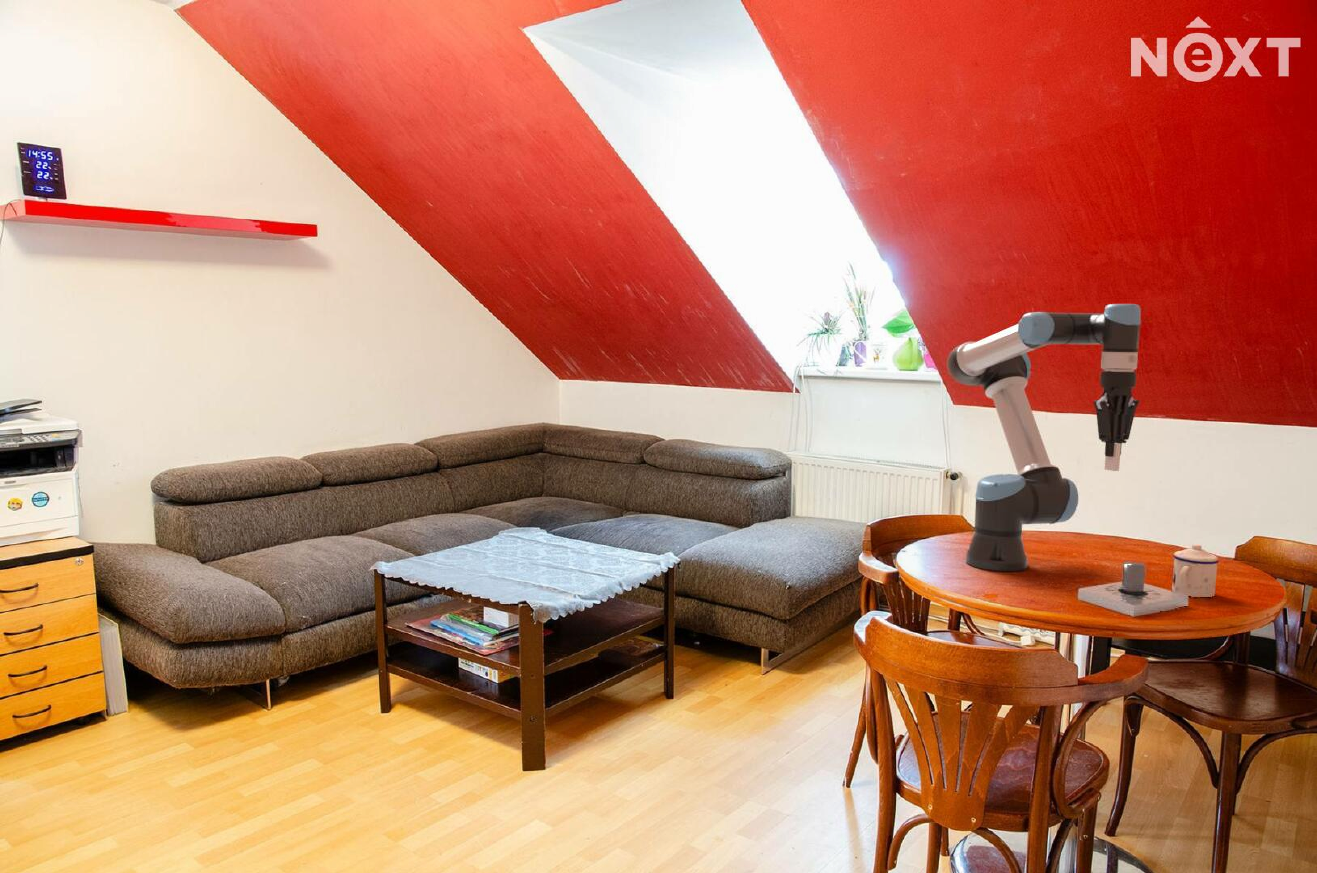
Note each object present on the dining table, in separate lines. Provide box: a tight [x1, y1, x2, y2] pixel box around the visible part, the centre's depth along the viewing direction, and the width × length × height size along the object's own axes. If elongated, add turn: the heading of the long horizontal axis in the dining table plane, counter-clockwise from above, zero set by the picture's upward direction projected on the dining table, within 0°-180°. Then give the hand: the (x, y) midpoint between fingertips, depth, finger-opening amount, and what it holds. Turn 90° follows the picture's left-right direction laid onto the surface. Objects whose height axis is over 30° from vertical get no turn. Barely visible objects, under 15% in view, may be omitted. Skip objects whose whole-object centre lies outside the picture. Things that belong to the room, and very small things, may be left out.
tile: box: [1077, 581, 1189, 617], centre depth 203 cm, size 14×18×2 cm
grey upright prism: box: [1121, 561, 1146, 596], centre depth 202 cm, size 4×4×9 cm
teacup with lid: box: [1171, 543, 1219, 598], centre depth 209 cm, size 12×9×12 cm
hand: (1111, 469), depth 213 cm, fingers closed
